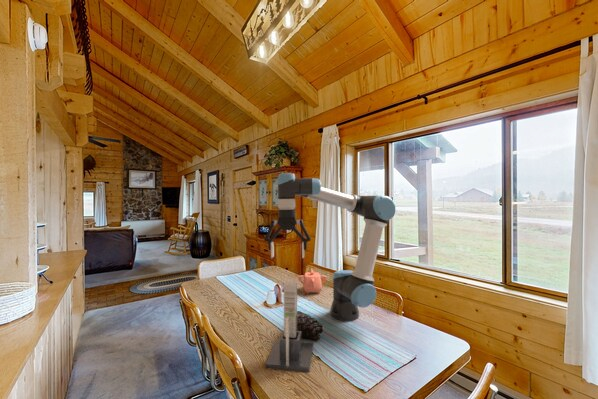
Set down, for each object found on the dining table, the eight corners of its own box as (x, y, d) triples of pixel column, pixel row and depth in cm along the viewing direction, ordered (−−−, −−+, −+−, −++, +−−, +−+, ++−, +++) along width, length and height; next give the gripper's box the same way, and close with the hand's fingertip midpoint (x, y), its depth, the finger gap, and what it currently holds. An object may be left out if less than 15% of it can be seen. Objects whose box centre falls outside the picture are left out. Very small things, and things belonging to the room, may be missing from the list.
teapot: (313, 297, 167) (313, 276, 167) (295, 291, 178) (295, 271, 178) (329, 290, 179) (329, 271, 179) (311, 285, 190) (311, 267, 190)
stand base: (313, 347, 112) (312, 301, 112) (309, 371, 96) (309, 318, 96) (275, 344, 114) (275, 299, 114) (265, 368, 98) (265, 316, 98)
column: (297, 332, 107) (297, 281, 107) (295, 338, 102) (295, 286, 101) (286, 331, 107) (285, 281, 107) (283, 338, 102) (283, 285, 102)
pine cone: (320, 344, 113) (320, 321, 113) (283, 336, 121) (283, 314, 121) (328, 333, 123) (328, 311, 123) (293, 326, 130) (293, 305, 130)
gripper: (315, 208, 120) (316, 255, 120) (260, 208, 122) (261, 255, 122) (315, 208, 112) (315, 259, 112) (256, 209, 115) (257, 259, 115)
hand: (287, 257), depth 117 cm, fingers open, 13 cm apart
